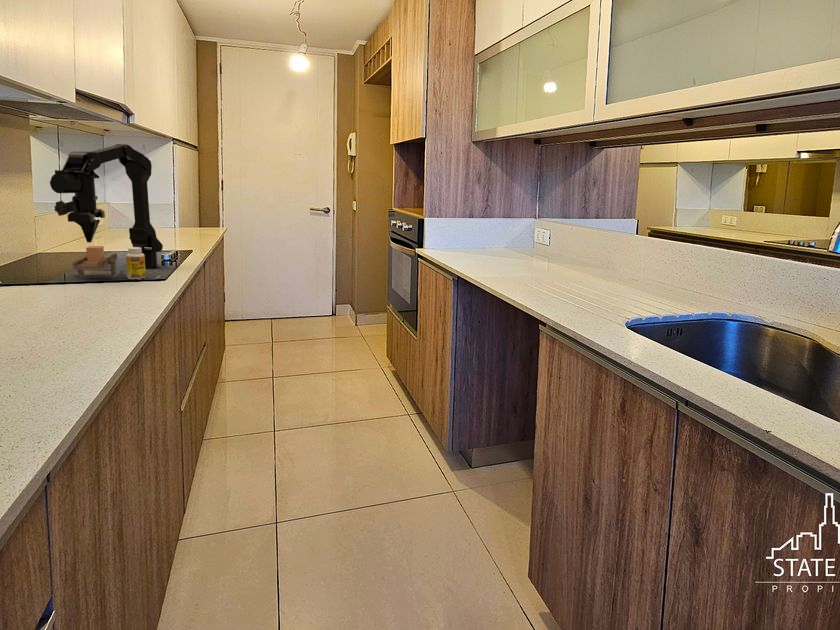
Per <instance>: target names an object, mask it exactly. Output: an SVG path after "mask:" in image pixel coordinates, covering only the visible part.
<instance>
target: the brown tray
mask: <svg viewBox="0 0 840 630" xmlns="http://www.w3.org/2000/svg"><path fill="white" fill-rule="evenodd" d="M116 260H118V253H117V252H112V253H111V254H109V255H104V259H103V260H101V261H99V262H94V261H87V254H86V255H84V256H82V257H80V258H79V259H77V260H75V261H73V262H72V267H73V268H72V270H77V269H84V270H89V271H103V269H105V268H106V267H108V266H109V265H110V261H116Z"/></svg>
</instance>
